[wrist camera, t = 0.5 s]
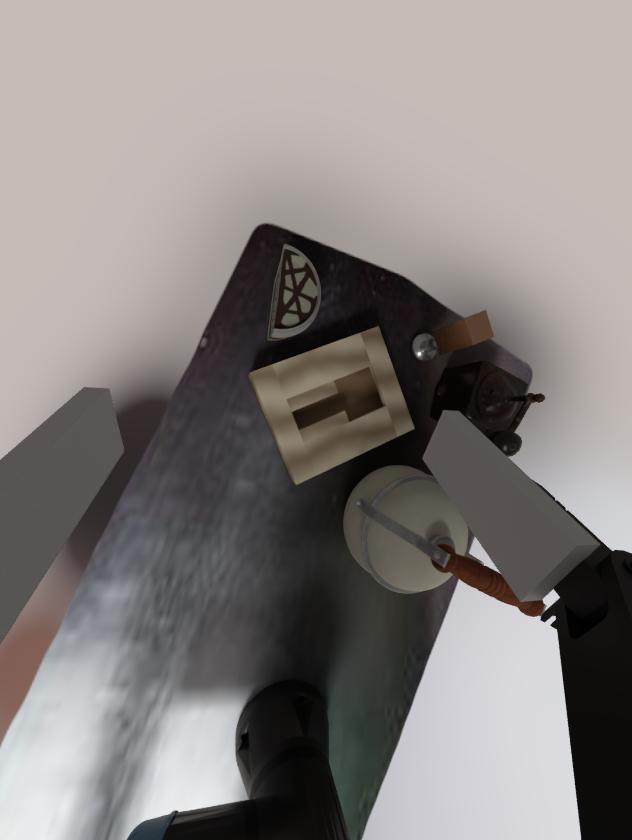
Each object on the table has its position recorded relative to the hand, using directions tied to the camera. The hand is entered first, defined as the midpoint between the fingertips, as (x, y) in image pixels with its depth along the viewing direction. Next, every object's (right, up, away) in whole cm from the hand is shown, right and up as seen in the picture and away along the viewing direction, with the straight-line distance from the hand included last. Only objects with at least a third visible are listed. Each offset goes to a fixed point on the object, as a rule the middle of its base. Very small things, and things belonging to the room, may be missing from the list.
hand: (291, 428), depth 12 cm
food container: (-4, +18, +36) cm, 41 cm away
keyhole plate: (+3, +3, +38) cm, 39 cm away
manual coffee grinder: (+28, +2, +45) cm, 53 cm away
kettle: (+14, -17, +42) cm, 48 cm away
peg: (+21, +14, +43) cm, 50 cm away
